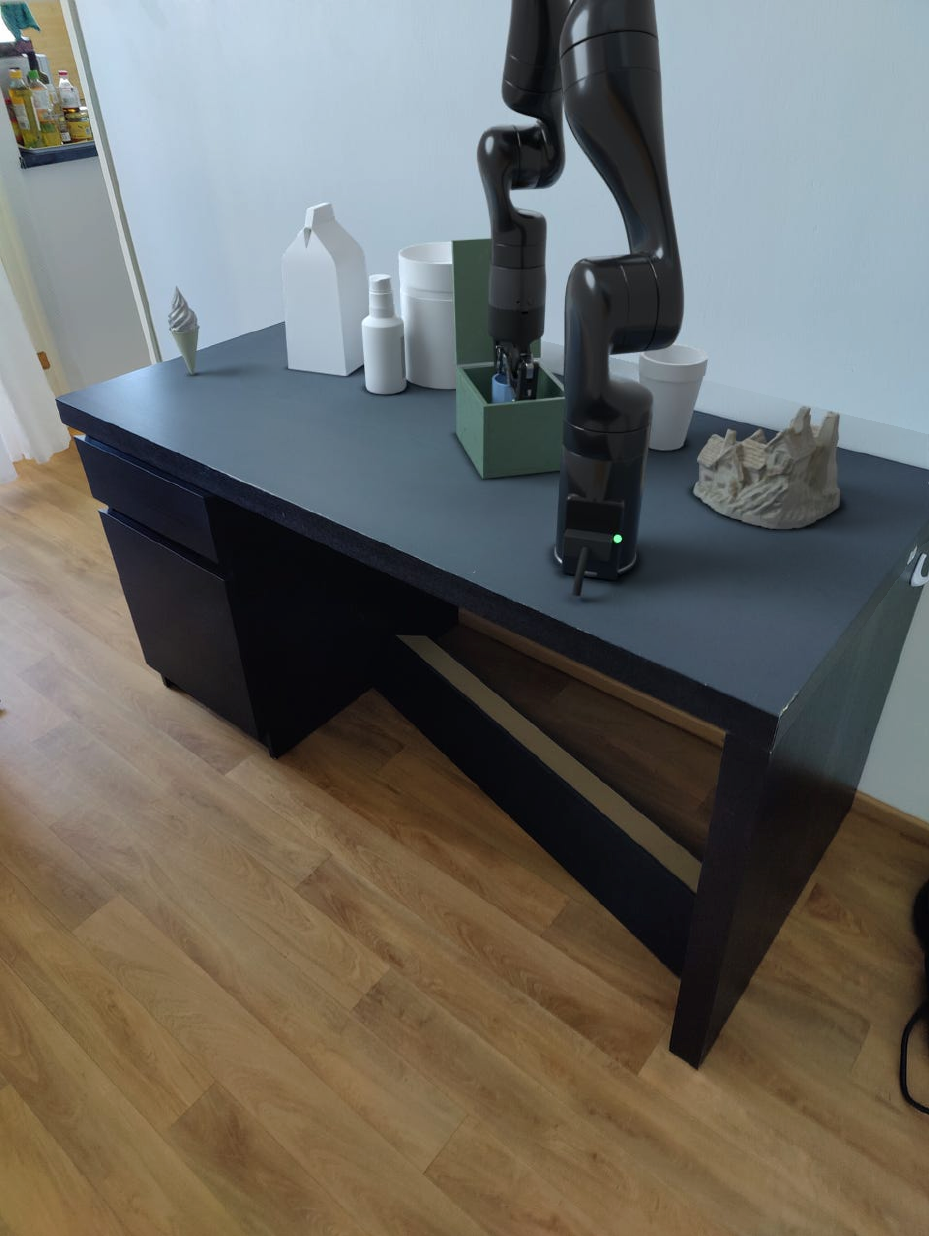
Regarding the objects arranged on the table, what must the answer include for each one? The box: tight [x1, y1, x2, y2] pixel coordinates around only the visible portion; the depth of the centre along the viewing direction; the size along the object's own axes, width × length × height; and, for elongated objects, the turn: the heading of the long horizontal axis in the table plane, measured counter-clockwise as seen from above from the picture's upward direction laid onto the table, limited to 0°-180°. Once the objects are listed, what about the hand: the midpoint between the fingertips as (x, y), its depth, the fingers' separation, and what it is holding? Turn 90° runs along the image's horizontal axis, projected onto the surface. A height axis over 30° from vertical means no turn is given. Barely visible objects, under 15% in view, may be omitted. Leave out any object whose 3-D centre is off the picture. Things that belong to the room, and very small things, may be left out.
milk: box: [280, 202, 370, 377], centre depth 153 cm, size 12×12×26 cm
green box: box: [455, 360, 565, 480], centre depth 125 cm, size 16×13×10 cm
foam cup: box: [637, 343, 709, 451], centre depth 127 cm, size 10×9×13 cm
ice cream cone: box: [167, 285, 200, 376], centre depth 151 cm, size 5×5×15 cm
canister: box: [397, 241, 494, 390], centre depth 150 cm, size 16×16×20 cm
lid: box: [450, 237, 542, 365], centre depth 126 cm, size 16×13×5 cm
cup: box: [492, 374, 526, 403], centre depth 123 cm, size 6×6×8 cm
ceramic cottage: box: [692, 405, 841, 530], centre depth 111 cm, size 16×16×15 cm
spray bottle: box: [362, 273, 407, 395], centre depth 144 cm, size 7×7×18 cm
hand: (513, 420), depth 125 cm, fingers closed on cup, 6 cm apart
